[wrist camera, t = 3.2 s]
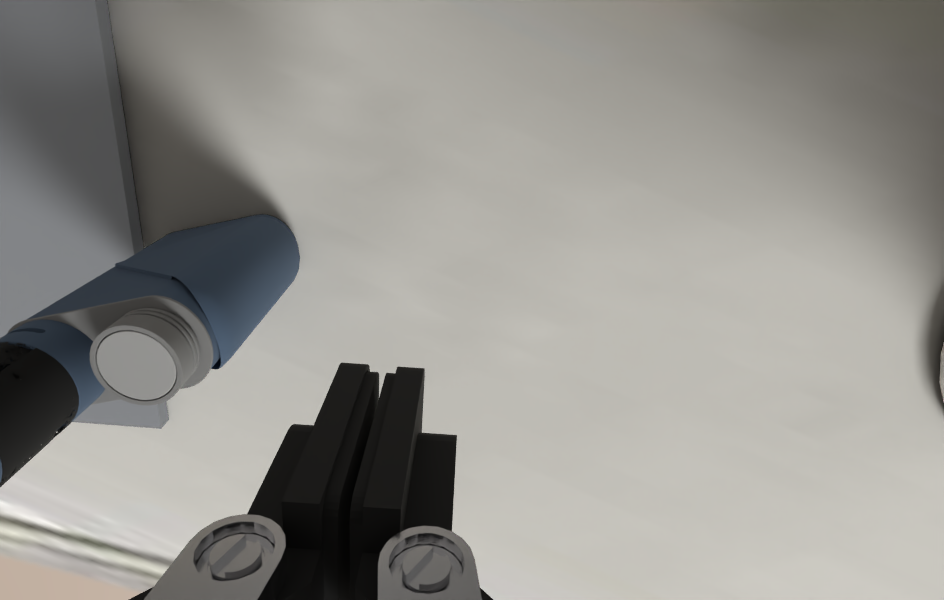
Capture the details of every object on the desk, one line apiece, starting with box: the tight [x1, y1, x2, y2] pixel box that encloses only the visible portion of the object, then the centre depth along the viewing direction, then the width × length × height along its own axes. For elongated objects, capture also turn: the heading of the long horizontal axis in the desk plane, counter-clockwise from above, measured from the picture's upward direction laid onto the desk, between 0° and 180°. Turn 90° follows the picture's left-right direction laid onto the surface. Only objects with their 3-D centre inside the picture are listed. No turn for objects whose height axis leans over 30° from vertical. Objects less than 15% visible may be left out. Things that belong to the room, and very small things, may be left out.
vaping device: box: [0, 214, 300, 487], centre depth 15 cm, size 3×5×12 cm, turn 102°
